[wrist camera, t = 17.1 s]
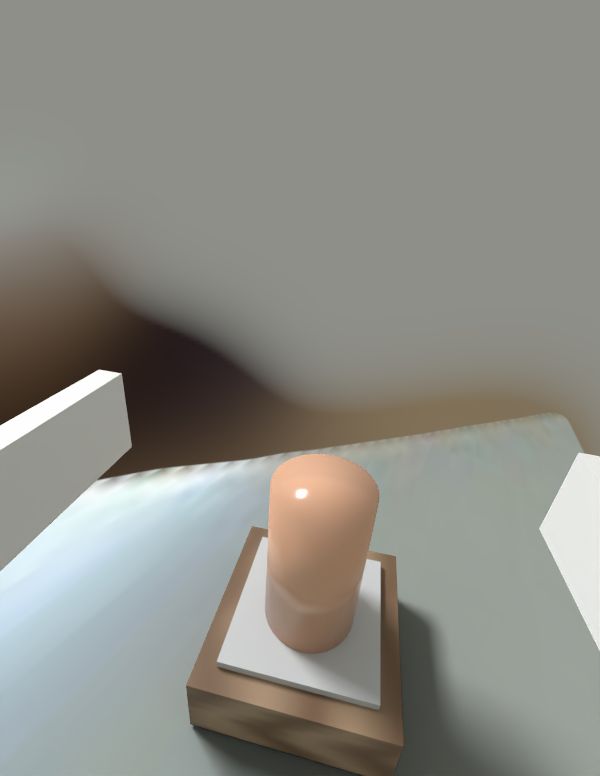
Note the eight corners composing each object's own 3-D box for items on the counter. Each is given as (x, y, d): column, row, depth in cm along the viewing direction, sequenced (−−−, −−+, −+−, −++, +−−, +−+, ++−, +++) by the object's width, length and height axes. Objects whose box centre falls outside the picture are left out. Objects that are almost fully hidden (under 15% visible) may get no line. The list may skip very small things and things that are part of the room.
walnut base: (190, 724, 27) (185, 680, 24) (251, 561, 39) (252, 521, 37) (389, 783, 25) (405, 741, 22) (386, 591, 37) (396, 551, 35)
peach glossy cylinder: (253, 640, 27) (256, 514, 21) (277, 559, 33) (284, 447, 28) (350, 665, 26) (379, 539, 20) (356, 576, 32) (379, 463, 27)
